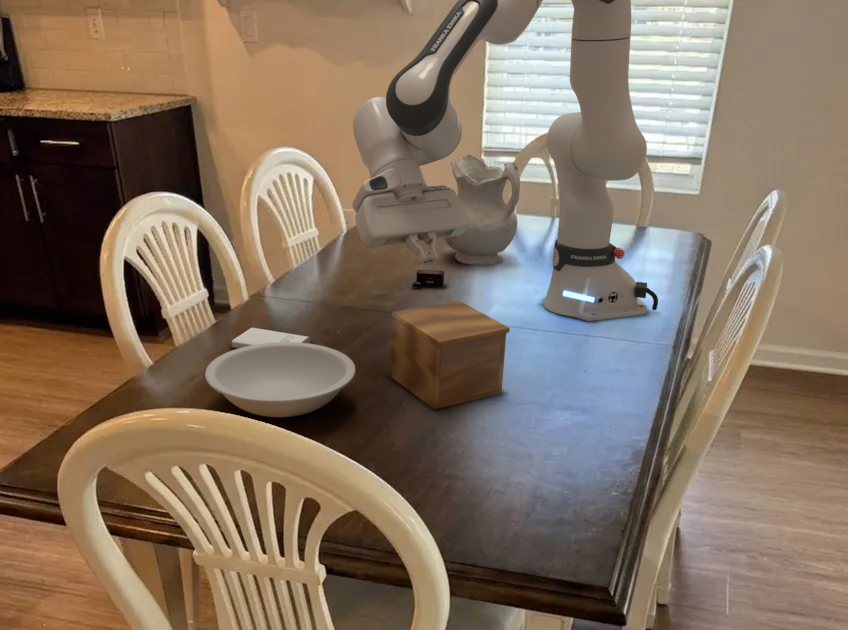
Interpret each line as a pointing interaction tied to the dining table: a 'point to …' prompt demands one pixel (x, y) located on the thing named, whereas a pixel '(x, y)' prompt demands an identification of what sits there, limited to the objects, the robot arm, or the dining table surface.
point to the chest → (446, 366)
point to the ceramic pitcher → (484, 210)
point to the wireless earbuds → (429, 278)
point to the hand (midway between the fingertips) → (429, 260)
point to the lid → (449, 322)
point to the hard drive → (265, 338)
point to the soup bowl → (280, 377)
